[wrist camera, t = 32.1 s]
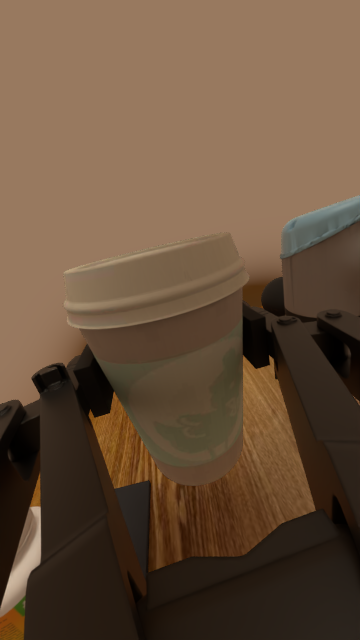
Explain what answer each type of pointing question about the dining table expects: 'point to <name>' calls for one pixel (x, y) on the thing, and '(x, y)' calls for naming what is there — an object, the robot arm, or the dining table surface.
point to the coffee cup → (171, 348)
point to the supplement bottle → (21, 578)
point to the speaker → (274, 297)
